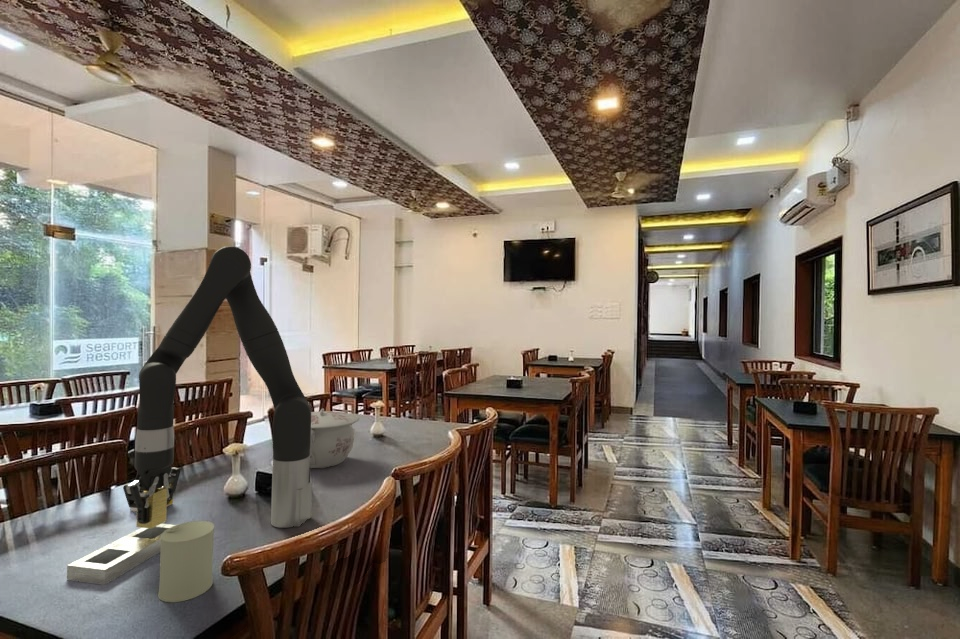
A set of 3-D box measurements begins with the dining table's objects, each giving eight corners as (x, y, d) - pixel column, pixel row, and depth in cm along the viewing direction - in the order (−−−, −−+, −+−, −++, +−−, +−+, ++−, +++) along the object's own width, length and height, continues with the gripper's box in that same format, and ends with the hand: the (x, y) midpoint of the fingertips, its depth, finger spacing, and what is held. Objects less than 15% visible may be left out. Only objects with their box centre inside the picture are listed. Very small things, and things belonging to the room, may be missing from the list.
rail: (183, 538, 110) (183, 525, 110) (104, 584, 91) (105, 569, 91) (151, 534, 112) (151, 522, 112) (66, 580, 92) (67, 565, 92)
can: (175, 575, 94) (177, 518, 95) (221, 575, 95) (223, 518, 95) (146, 603, 85) (148, 539, 85) (198, 602, 86) (199, 539, 86)
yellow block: (166, 521, 108) (167, 487, 108) (151, 528, 104) (152, 493, 104) (151, 519, 109) (152, 486, 109) (136, 526, 105) (137, 492, 105)
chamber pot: (329, 448, 190) (330, 399, 190) (373, 462, 174) (374, 408, 174) (264, 464, 167) (266, 408, 167) (308, 481, 151) (310, 419, 151)
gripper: (142, 456, 99) (139, 534, 99) (192, 439, 113) (189, 508, 113) (112, 453, 100) (109, 530, 100) (165, 437, 114) (163, 505, 114)
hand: (152, 518), depth 107 cm, fingers closed on yellow block, 4 cm apart
